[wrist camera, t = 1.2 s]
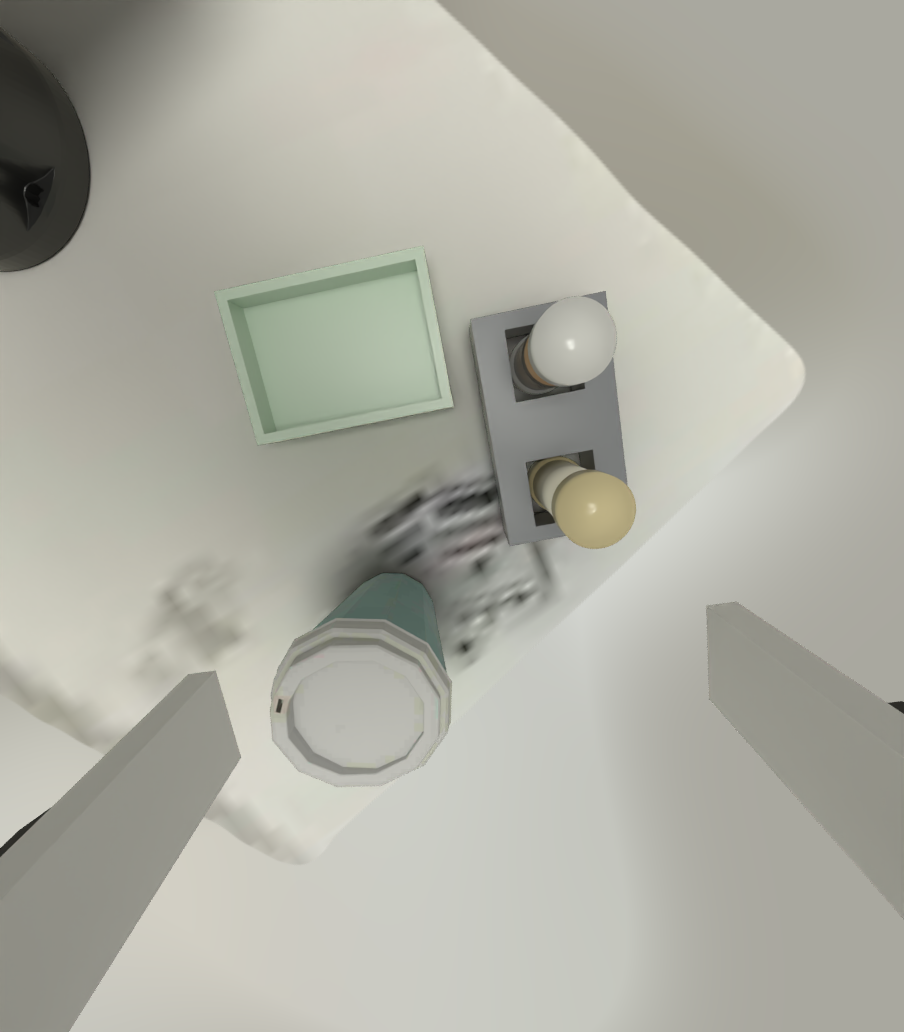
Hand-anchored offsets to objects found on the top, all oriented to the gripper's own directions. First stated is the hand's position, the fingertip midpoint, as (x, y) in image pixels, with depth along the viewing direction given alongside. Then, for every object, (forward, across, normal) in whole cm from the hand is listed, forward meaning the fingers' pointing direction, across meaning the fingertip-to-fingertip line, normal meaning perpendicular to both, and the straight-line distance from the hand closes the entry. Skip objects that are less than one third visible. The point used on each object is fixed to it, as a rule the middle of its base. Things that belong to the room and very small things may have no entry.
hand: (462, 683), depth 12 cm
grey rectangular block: (+26, +8, +5) cm, 27 cm away
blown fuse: (+26, +7, +10) cm, 28 cm away
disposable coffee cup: (+26, -7, -8) cm, 28 cm away
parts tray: (+26, -7, +12) cm, 29 cm away
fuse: (+26, +8, +1) cm, 27 cm away
